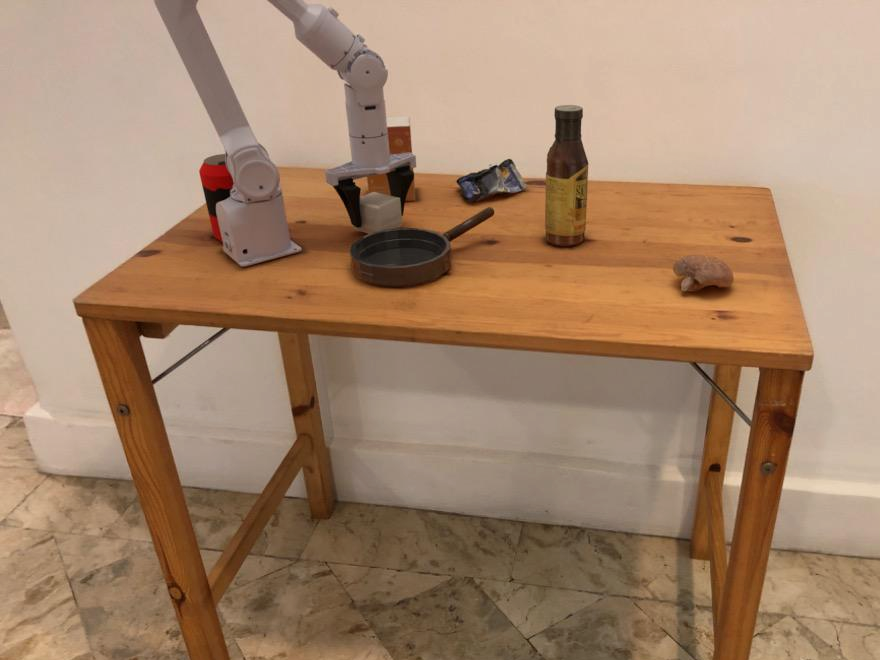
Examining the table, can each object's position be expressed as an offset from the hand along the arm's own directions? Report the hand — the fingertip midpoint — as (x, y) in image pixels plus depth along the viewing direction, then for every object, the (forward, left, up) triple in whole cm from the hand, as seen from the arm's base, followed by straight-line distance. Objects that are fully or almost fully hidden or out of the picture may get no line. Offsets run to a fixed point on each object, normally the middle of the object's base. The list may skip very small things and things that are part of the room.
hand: (377, 220), depth 125 cm
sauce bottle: (+21, -21, -2) cm, 30 cm away
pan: (-4, -14, -2) cm, 15 cm away
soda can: (-18, +13, -2) cm, 22 cm away
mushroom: (+25, -45, -2) cm, 52 cm away
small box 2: (0, 0, -2) cm, 2 cm away
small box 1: (+10, +13, -2) cm, 17 cm away
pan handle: (+8, -14, 0) cm, 16 cm away
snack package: (+24, +3, -2) cm, 24 cm away
